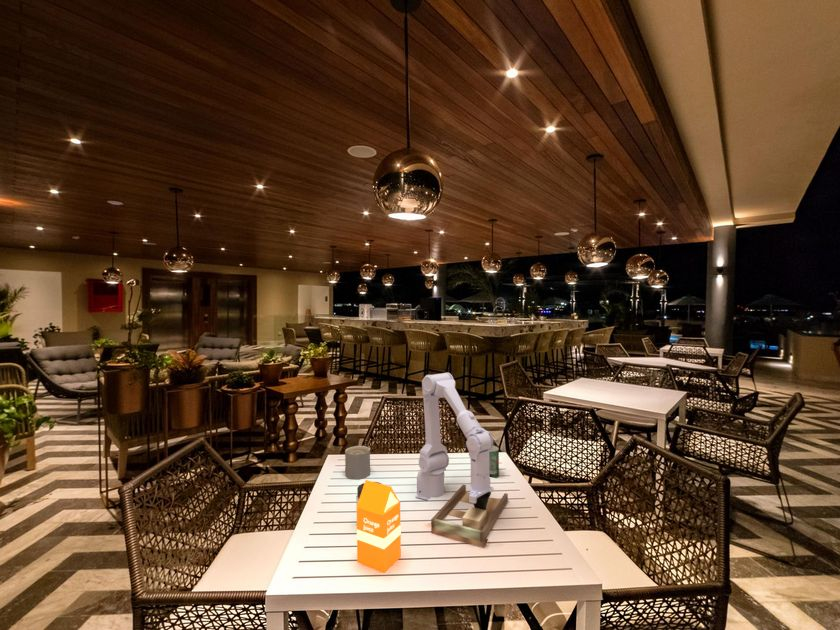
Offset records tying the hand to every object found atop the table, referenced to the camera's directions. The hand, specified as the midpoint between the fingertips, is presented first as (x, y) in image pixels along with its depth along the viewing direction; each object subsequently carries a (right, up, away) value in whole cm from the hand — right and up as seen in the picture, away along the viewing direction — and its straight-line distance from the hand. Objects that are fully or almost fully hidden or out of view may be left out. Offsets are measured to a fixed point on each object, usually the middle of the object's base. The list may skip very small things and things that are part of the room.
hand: (480, 516), depth 115 cm
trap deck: (-2, -3, +3) cm, 5 cm away
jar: (-34, -3, 0) cm, 34 cm away
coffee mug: (-43, -4, +40) cm, 59 cm away
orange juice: (-29, -3, -16) cm, 34 cm away
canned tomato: (+9, -3, +36) cm, 37 cm away
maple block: (-2, -1, -4) cm, 5 cm away
